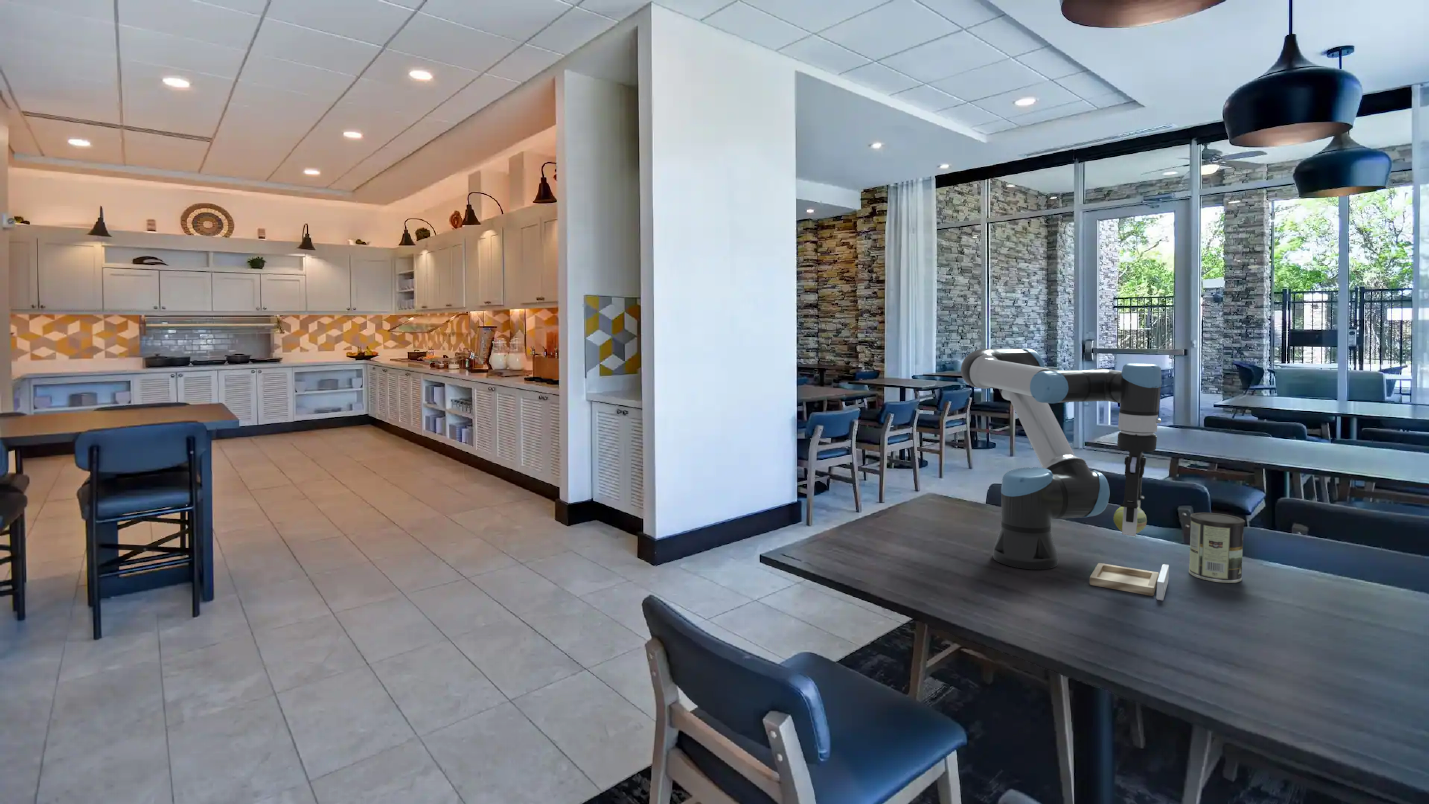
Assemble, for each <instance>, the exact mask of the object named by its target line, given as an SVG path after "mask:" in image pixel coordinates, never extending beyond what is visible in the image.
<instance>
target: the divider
mask: <svg viewBox="0 0 1429 804" xmlns="http://www.w3.org/2000/svg"><path fill="white" fill-rule="evenodd" d="M1169 573H1170V565H1169V564H1165V563H1164V564H1163V563H1162V565H1161V569H1160V571H1159V577H1158V580H1157V586H1156V597H1155V598H1156V600H1158V601H1164V598H1165V594H1166V591H1167V587H1168V584H1169V576H1170V575H1169Z"/></svg>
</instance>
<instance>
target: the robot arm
mask: <svg viewBox="0 0 1429 804" xmlns="http://www.w3.org/2000/svg"><path fill="white" fill-rule="evenodd" d="M1121 369H1122V370H1115V369H1108V368H1107V367H1106V368H1105V367H1103V368H1102V367H1101V368H1099V367H1098V368H1089V369H1087V370H1086V369H1081V370H1079V369H1078V370H1064V369H1063V370H1061V369H1059V370H1058V369H1053V368H1048V367H1045V362H1044V360H1043V358H1042V357H1041V355H1040V354H1039V353H1038V352H1037V351H1036V350H1034V349H1032V348H1025V347H1013V348H980V349H977V350H974V351H972V352H970V353H969V354H967V356H965V358H964V359H963V361H962V363H961V366H960V374H961V377H962V379H963V380H964V382H965V383H967V385H969V386H971V387H973V388H977V389H982V390H983V389H984V390H985V389H986V390H987V389H998V390H999V393H1000V395H1001V398H1003V399H1004V400H1006V401H1010V402H1011V405H1012V407H1013V410H1014V412H1015V413H1016V415H1017V417H1018V420H1019V422H1020V424H1021V425H1022V428H1023V430H1024V432H1025V435H1026V437H1027V439H1028V440H1029V443H1030V444H1031V447H1032V449H1033V451H1034V453H1035V456H1036V458H1037V460H1038V461H1039V463H1040V465H1041V467H1038V466H1037V467H1035V466H1034V467H1019V468H1015V469H1011V470H1008V471H1007V472H1005V474H1003V476H1002V480H1001V481H1002V482H1001V487H1000V493H1001V502H1000V503H1001V508H1000V530H999V532H998V535H997V538H996V540H995V544H994V545H993V550H992V558H993V560H994V561H996V562H998V563H1000V564H1003V565H1005V566H1007V567H1008V566H1009V567H1012V568H1018V569H1025V570H1026V569H1027V570H1048V569H1053V568H1055V567H1057V566H1058V565H1059V564H1058V563H1059V555H1058V551H1057V548H1056V545H1055V542H1054V539H1053V536H1052V520H1058V519H1077V518H1078V519H1079V518H1081V519H1085V518H1088V517H1095V516H1098V515H1100V514H1102V513H1103V512H1104V511H1105V510H1106V508H1107V506H1108V504H1109V499H1110V486H1109V482H1108V479H1107V478H1106V476H1105V475H1104V474H1103V473H1101V472H1099V471H1098V470H1095V469H1093V470H1091V469H1090V468H1089V466H1088V464H1087V462H1086V460H1085V459H1084V458H1082V457H1080V456H1079V457H1078V456H1076V455H1075V453H1074V451H1073V449H1072V447H1071V444H1070V443H1069V441H1068V439H1067V437H1066V435H1065V433H1064V431H1063V429H1062V428H1061V425H1060V423H1059V421H1058V419H1057V418H1056V415H1055V414H1054V412H1053V411H1052V408H1051V406H1050V404H1058V403H1081V402H1082V403H1084V402H1085V403H1087V402H1110V403H1117V404H1119V412H1118V423H1117V424H1118V425H1117V429H1118V430H1119V432H1118V433H1117V443H1116V445H1117V448H1118V449H1120V450H1123V451H1128V455H1125V457H1124V467H1125V468H1124V476H1125V482H1124V484H1125V485H1124V495H1123V496H1124V497H1123V502H1122V503H1120V506H1119V507H1124V510H1123V524H1122V531H1121V535H1124V536H1131V537H1137V533H1136V529H1137V515H1138V508H1137V507H1139V508H1140V509H1141V500H1142V501H1144V500H1145V495H1142V493H1143V491H1142V484H1143V476H1144V474H1145V467H1146V464H1147V463H1146V462H1147V457H1145V454H1144V452H1145V453H1151V452H1154V451H1156V450H1157V442H1158V441H1157V439H1158V436H1157V434H1155V433H1157V432H1158V424H1161V423H1162V420H1161V418H1158V417H1159V410H1160V403H1161V402H1160V399H1161V391H1162V390H1161V389H1162V384H1163V382H1162V369H1161V367H1160V366H1159V365H1158V364H1154V363H1125V364H1123V366H1122V368H1121Z"/></svg>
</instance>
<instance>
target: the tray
mask: <svg viewBox="0 0 1429 804" xmlns="http://www.w3.org/2000/svg"><path fill="white" fill-rule="evenodd" d="M1159 574H1160V571H1159V572H1158V571H1150V570H1146V569H1139V568H1133V567H1128V566H1127V567H1126V566H1119V565H1115V564H1108V563H1104V562H1103V563H1101V562H1098V563H1097V565H1096V566H1095V568H1094V570H1093V571H1092V573H1091V575H1090V576H1089V585H1090V586H1094V587H1095V586H1096V587H1102V588H1106V589H1111V590H1117V591H1123V592H1128V593H1132V594H1133V593H1135V594H1139V595H1140V594H1141V595H1145V596H1151V597H1154V595H1155V594H1156V593H1155V592H1156V591H1157V580H1158V577H1159Z"/></svg>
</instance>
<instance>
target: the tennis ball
mask: <svg viewBox="0 0 1429 804" xmlns="http://www.w3.org/2000/svg"><path fill="white" fill-rule="evenodd" d="M1137 508H1138V515H1137V529H1136V534H1139V533H1141V532H1142V531H1144V529H1145V528H1146V526H1147V522H1148V520H1147V515H1146V514H1145V511H1144V510H1142V508H1141V507H1140V508H1139V507H1137ZM1123 510H1124V507H1121V506H1119V508H1117V509H1116V510H1115V511H1114V513H1113V523H1114V525H1115V527H1117V529H1118V530H1119V531H1120V532H1122V524H1123Z"/></svg>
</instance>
